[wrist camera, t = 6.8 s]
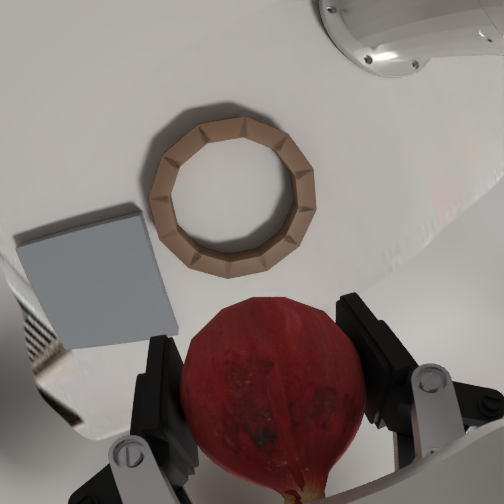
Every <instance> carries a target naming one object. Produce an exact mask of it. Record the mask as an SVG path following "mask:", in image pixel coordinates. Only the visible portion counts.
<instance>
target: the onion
mask: <svg viewBox="0 0 504 504" xmlns="http://www.w3.org/2000/svg"><path fill="white" fill-rule="evenodd" d="M179 395H180V404H181V407H182V409H183V412H184V415H185V418H186V421H187V424H188V426H189V429H190V432H191V434H192V437H193V439H194V440H195V442H196V443H197V445H198V446H199V447H200V449H201V450H202V452H203V453H204V454H206V455H207V457H209V458H210V459H211V460H212V461H213V462H214V463H215V464H217V465H218V466H220V467H221V468H222V469H224V470H225V471H227V472H229V473H230V474H232V475H234V476H236V477H238V478H240V479H242V480H245V481H247V482H249V483H252V484H254V485H258V486H262V487H266V488H271V489H273V490H275V491H277V492H278V493H280V494H281V495H282V497H283V498H284V499H285V502H284V504H305V503H309V502H313V501H316V500H320V499H323V498H326V497H325V492H324V490H325V486H326V482H327V478H328V474H329V471H330V470H331V468H332V467H333V466H334V465H335V463H336V462H337V461H338V460H339V459H340V458H341V457H342V455H343V454H344V453H345V452H346V450H347V449H348V447H349V446H350V444H351V442H352V441H353V439H354V437H355V435H356V433H357V431H358V429H359V427H360V425H361V421H362V418H363V415H364V412H365V405H366V387H365V381H364V375H363V369H362V364H361V359H360V357H359V355H358V353H357V350H356V348H355V346H354V343H353V342H352V340H351V339H350V338H349V337H348V336H347V335H346V334H345V333H344V332H343V331H342V330H341V329H340V328H339V326H338V325H337V324H336V323H335V322H334V321H333V320H332V319H331V318H330V317H329V316H328V315H327V314H326V313H325V312H324V311H322V310H319V309H316V308H314V307H311V306H308V305H305V304H302V303H300V302H297V301H294V300H291V299H289V298H286V297H252V298H249V299H247V300H244V301H242V302H239V303H236V304H234V305H231V306H229V307H226V308H224V309H222V310H221V311H220V312H219V313H218V314H217V315H216V316H215V317H214V318H213V319H212V320H211V321H210V322H209V323H208V324H207V325H206V326H205V327H204V328H203V329H202V330H201V331H200V332H199V333H198V334H196V335H195V336H194V337H193V338H192V339H191V342H190V346H189V349H188V352H187V356H186V359H185V363H184V366H183V369H182V373H181V376H180V380H179Z"/></svg>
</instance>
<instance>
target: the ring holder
mask: <svg viewBox="0 0 504 504" xmlns="http://www.w3.org/2000/svg"><path fill="white" fill-rule="evenodd" d="M242 137H244V138H246V139H249V140H252V141H254V142H257V143H259V144H262V145H265V146H267V147H270V148H272V149H273V151H274V152H275V153H276V154H277V156H278V157H279V158H280V160H281V161H282V162H283V164H284V165H285V166H286V168H287V169H288V170H289V172H290V175H291V185H292V195H293V205H292V207H291V209H290V211H289V213H288V216H287V218H286V220H285V222H284V225H283V227H282V229H281V231H279V232H278V233H277V234H275V235H274V236H273V237H272V238H270V239H269V240H268V241H266V242H265V243H264V244H263V245H261V246H260V247H259V248H257V249H253V250H248V251H243V252H238V253H233V254H224V253H221V252H217V251H214V250H210V249H207V248H204V247H200V246H198V245H197V244H196V243H195V242H194V241H193V240H192V239H191V238H190V237H189V236H188V235H187V234H186V233H185V231H184V230H183V229H182V228H181V227H180V226H179V225H178V224H177V219H176V215H175V211H174V207H173V202H172V198H171V192H172V189H173V186H174V183H175V180H176V177H177V174H178V171H179V168H180V166H181V165H182V164H184V163H185V162H186V161H187V160H188V159H189V158H191V157H192V156H193V155H194V154H195V153H196V152H198V151H199V150H200V149H201V148H202V147H204V146H205V145H206V144H207V143H212V142H218V141H224V140H230V139H236V138H242ZM149 202H150V206H151V210H152V214H153V217H154V221H155V225H156V229H157V232H158V236H159V239H160V241H161V242H162V243H163V244H164V245H165V246H166V247H167V248H168V249H169V250H170V251H171V252H172V253H174V254H175V255H176V256H177V257H178V258H179V259H180V260H181V261H182V262H183V263H184V264H185V265H186V266H187V267H188V268H190V269H193V270H197V271H201V272H204V273H208V274H212V275H215V276H219V277H223V278H226V279H227V278H228V279H229V278H235V277H240V276H245V275H249V274H254V273H259V272H264V271H268V270H269V269H270V268H272V267H273V266H274V265H276V264H277V263H278V262H280V261H281V260H282V259H283V258H285V257H286V256H287V255H289V254H290V253H291V252H293V251H294V250H295V249H296V248H298V247H299V246H300V244H301V242H302V239H303V237H304V235H305V233H306V231H307V229H308V227H309V225H310V223H311V220H312V218H313V216H314V214H315V212H316V195H315V182H314V170H313V168H312V166H311V165H310V163H309V162H308V160H307V159H306V158H305V156H304V155H303V153H302V152H301V151H300V149H299V148H298V146H297V145H296V144H295V142H294V141H293V140H292V138H291V137H290V136H289V134H287V133H285V132H283V131H280V130H278V129H275V128H273V127H271V126H268V125H266V124H263V123H261V122H258V121H256V120H253V119H251V118H248V117H236V118H230V119H223V120H218V121H212V122H206V123H201V124H198V125H197V126H195V127H194V128H193V129H192V130H191V131H189V132H188V133H187V134H186V135H185V136H184V137H182V138H181V139H180V140H179V141H178V142H177V143H175V144H174V145H173V146H172V147H171V148H170V149H169V150H168V151H166V152H165V153H164V154H163V155H162V158H161V161H160V164H159V167H158V170H157V173H156V177H155V180H154V183H153V186H152V190H151V193H150V196H149Z"/></svg>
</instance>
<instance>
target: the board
mask: <svg viewBox="0 0 504 504" xmlns="http://www.w3.org/2000/svg"><path fill="white" fill-rule="evenodd" d="M15 249H16V252H17V254H18V257H19V259H20V262H21V264H22V266H23V269H24V271H25V273H26V275H27V278H28V280H29V282H30V284H31V286H32V288H33V291H34V293H35V295H36V297H37V299H38V301H39V303H40V305H41V307H42V309H43V311H44V312H45V314H46V316H47V318H48V320H49V322H50V324H51V325H52V327H53V329H54V331H55V333H56V334H57V336H58V338H59V339H60V341H61V343H62V345H63V346H64V348H65V349H66V350H70V349H80V348H89V347H98V346H106V345H114V344H122V343H129V342H136V341H143V340H150V337H152V336H158V335H164V334H166V335H167V337H169V336H175V335H178V330H179V327H178V325H177V322H176V319H175V316H174V313H173V310H172V308H171V305H170V302H169V299H168V296H167V293H166V290H165V287H164V284H163V280H162V277H161V274H160V271H159V268H158V265H157V261H156V258H155V255H154V251H153V248H152V245H151V241H150V238H149V234H148V231H147V227H146V223H145V220H144V216H143V212H142V211H140V212H136V213H132V214H128V215H124V216H119V217H115V218H111V219H107V220H103V221H99V222H95V223H92V224H88V225H84V226H80V227H77V228H73V229H69V230H66V231H62V232H58V233H55V234H51V235H48V236H44V237H41V238H38V239H34V240H31V241H28V242H24V243H21V244H20V245H19V246H18V247H16V248H15Z"/></svg>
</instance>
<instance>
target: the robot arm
mask: <svg viewBox="0 0 504 504" xmlns="http://www.w3.org/2000/svg"><path fill="white" fill-rule="evenodd" d="M319 9H320V15H321V18H322V21H323V24H324V27H325V28H326V30H327V32H328V34H329V36H330V38H331V39H332V41H333V42H334V43H335V45H336V46H337V47H338V49H339V50H340V51H341V52H342V53H343V54H344V55H345V56H346V57H347V58H348V59H350V60H351V61H352V62H354V63H355V64H356V65H357V66H359V67H361V68H363V69H364V70H366V71H368V72H370V73H373V74H376V75H378V76H383V77H389V78H399V77H406V76H411V75H413V74H415V73H417V72H419V71H420V70H421V69H423V68H424V67H425V66H426V64H427V63H428V62H429V60H430V58H439V57H453V56H482V55H496V56H504V0H319ZM328 10H329V11H330V12H331V13H330V12H329V11H328ZM364 59H365V61H364ZM336 324H337V325H338V326H339V328H340V329H341V330H342V331H343V332H344V333H345V334H346V335H347V336H348V337H349V338H350V339H351V340H352V342H353V343H354V346H355V348H356V350H357V353H358V355H359V357H360V359H361V364H362V369H363V375H364V381H365V387H366V405H365V412H364V413H365V415H366V417H367V419H368V420H369V422H370V423H371V424H373V423H375V425H376V426H377V428H378V429H380V428H382V427H385V426H387V428H388V430H390V431H393V443H394V463H395V472H393V473H391V474H389V475H386V476H384V477H382V478H379V479H377V480H374V481H372V482H369V483H367V484H364V485H362V486H359V487H356V488H354V489H351V490H348V491H345V492H342V493H339V494H336V495H333V496H330V497H327V498H323V499H320V500H316V501H313V502H309V503H305V504H504V396H503V395H502V394H501V393H500V392H499V391H497V390H494V389H490V388H484V387H479V386H474V385H469V384H464V383H459V382H454V381H452V379H451V377H450V374H449V372H448V371H447V370H446V369H445V368H443V367H442V366H440V365H437V364H424V365H421V366H419V365H418V364H417V363H416V361H415V360H414V359H413V357H412V356H411V355H410V353H409V352H408V351H407V349H406V348H405V347H404V346H403V345H402V343H401V342H400V340H399V339H398V338H397V337H396V335H395V334H394V333H393V332H392V330H391V329H390V328H389V326H388V325H387V324H386V323H385V322H384V321H383V320H377V318H376V317H375V316H374V314H373V313H372V312H371V311H370V309H369V308H368V307H367V306H366V304H365V303H364V302H363V301H362V299H361V298H360V297H359V295H358V294H357V293H355V292H354V293H350V294H346V295H343V296H341V297H340V300H339V301H337V302H336ZM183 366H184V364H183V361H182V359H181V357H180V354H179V352H178V350H177V347H176V345H175V342H174V340H173V338H172V337H170V338H168V337H167V335H166V334H164V335H158V336H152V337H150V343H149V350H148V357H147V365H146V373H143V374H138V376H137V379H136V386H135V393H134V401H133V410H132V419H131V428H130V435H127V436H123V437H121V438H119V439H117V440H116V441H115V442H114V443H113V444H112V446H111V447H110V449H109V453H108V458H109V464H108V465H107V466H106V467H104V468H103V469H102V470H101V471H100V472H98V473H97V474H96V475H95V476H94V477H92V478H91V479H90V480H89V481H87V482H86V483H85V484H84V485H82V486H81V487H80V488H79V489H77V490H76V491H75V492H74V493H73V494H72V495H71V496H70V498H69V501H68V504H195V503H194V502H193V500H192V498H191V496H190V494H189V493H188V491H187V489H186V487H185V485H184V484H185V483H186V482H187V481H188V475H193V474H195V472H194V467H198V466H199V459H198V448H197V443H196V442H195V440H194V439H193V437H192V434H191V432H190V429H189V426H188V424H187V421H186V418H185V415H184V412H183V409H182V407H181V404H180V395H179V380H180V376H181V373H182V369H183Z"/></svg>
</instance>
